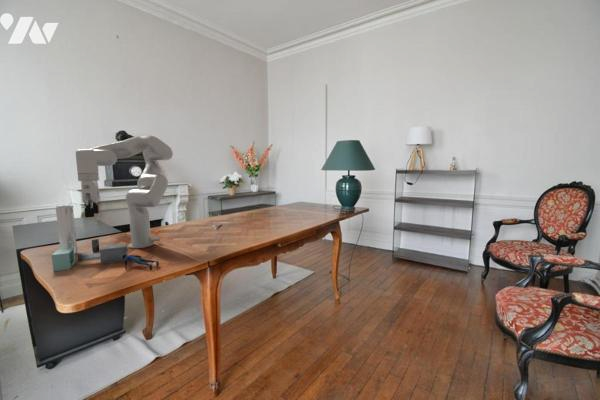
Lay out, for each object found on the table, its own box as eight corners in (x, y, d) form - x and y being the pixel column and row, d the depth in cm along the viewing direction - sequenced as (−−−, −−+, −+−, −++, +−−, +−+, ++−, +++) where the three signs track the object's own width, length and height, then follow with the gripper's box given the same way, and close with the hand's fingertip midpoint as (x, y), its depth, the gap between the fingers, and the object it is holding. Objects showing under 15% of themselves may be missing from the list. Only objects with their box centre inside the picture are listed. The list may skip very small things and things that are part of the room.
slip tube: (124, 255, 135) (122, 235, 134) (123, 257, 131) (121, 237, 130) (80, 260, 127) (78, 240, 126) (78, 263, 123) (76, 242, 122)
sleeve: (128, 256, 137) (127, 243, 136) (126, 260, 131) (125, 246, 130) (103, 259, 132) (102, 245, 131) (101, 264, 126) (99, 249, 125)
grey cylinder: (68, 256, 137) (62, 206, 134) (57, 255, 138) (51, 205, 135) (80, 252, 143) (75, 204, 140) (70, 251, 145) (65, 203, 141)
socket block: (75, 262, 128) (73, 247, 127) (69, 269, 120) (68, 253, 119) (60, 264, 126) (58, 249, 125) (53, 271, 118) (51, 255, 117)
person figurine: (164, 268, 127) (132, 259, 131) (165, 258, 126) (133, 250, 131) (145, 277, 117) (111, 267, 121) (146, 267, 116) (112, 257, 120)
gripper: (95, 178, 117) (98, 217, 119) (102, 176, 133) (105, 211, 135) (72, 178, 114) (76, 219, 116) (82, 176, 129) (86, 212, 131)
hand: (92, 215), depth 125 cm, fingers open, 9 cm apart
